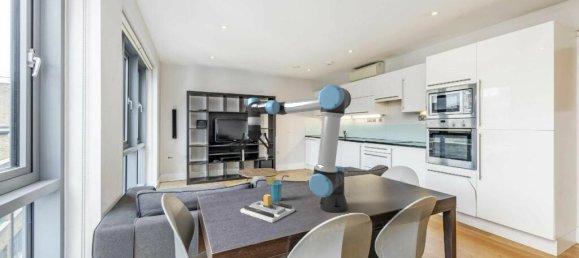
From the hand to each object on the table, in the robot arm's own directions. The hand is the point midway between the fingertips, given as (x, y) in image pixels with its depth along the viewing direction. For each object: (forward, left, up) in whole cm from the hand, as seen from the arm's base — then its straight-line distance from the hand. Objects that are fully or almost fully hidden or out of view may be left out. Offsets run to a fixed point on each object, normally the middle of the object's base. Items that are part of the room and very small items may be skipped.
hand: (254, 160), depth 138 cm
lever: (-17, +7, -23) cm, 29 cm away
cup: (-9, -11, -25) cm, 28 cm away
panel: (-17, +7, -25) cm, 31 cm away
